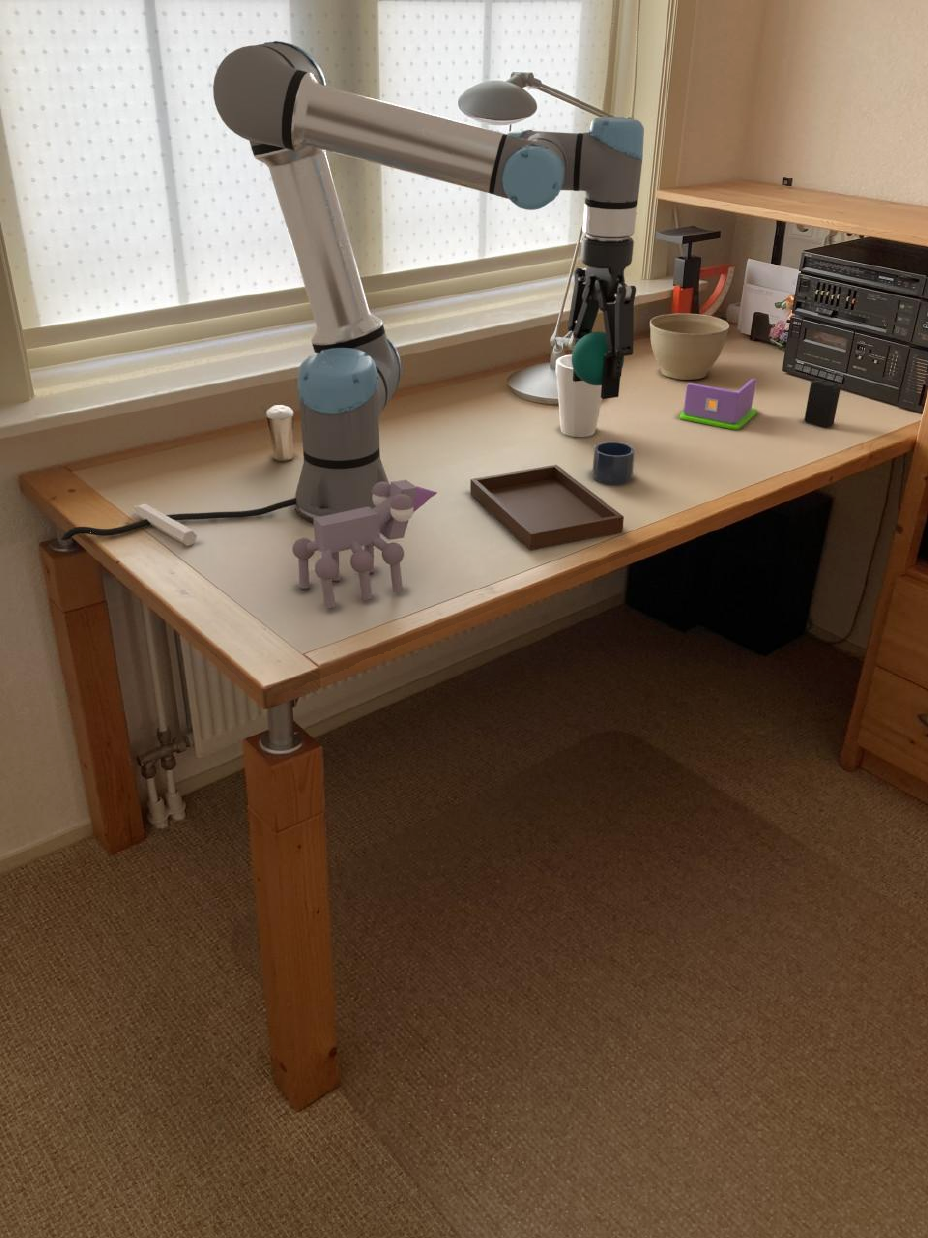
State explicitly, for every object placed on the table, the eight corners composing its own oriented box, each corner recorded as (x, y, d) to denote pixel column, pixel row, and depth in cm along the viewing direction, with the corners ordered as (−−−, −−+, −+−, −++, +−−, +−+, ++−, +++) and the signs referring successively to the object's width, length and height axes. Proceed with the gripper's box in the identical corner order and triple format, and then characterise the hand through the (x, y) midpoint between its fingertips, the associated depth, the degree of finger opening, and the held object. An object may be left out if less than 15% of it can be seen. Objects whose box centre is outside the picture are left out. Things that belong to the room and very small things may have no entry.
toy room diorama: (738, 430, 196) (743, 395, 193) (677, 418, 202) (681, 383, 198) (758, 412, 205) (764, 377, 202) (699, 400, 211) (704, 366, 207)
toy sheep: (421, 551, 154) (420, 464, 147) (457, 583, 146) (457, 491, 139) (291, 582, 145) (284, 491, 138) (321, 618, 137) (314, 522, 130)
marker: (135, 515, 165) (193, 547, 155) (123, 512, 163) (181, 544, 154) (140, 499, 165) (198, 530, 155) (129, 496, 163) (187, 527, 153)
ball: (586, 394, 160) (590, 342, 156) (560, 378, 166) (564, 328, 162) (631, 388, 163) (636, 336, 159) (604, 373, 169) (609, 323, 165)
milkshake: (262, 456, 184) (256, 400, 179) (291, 450, 186) (287, 395, 181) (270, 465, 181) (265, 408, 176) (300, 459, 183) (296, 404, 178)
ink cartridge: (833, 425, 199) (841, 384, 195) (827, 428, 198) (835, 387, 194) (810, 418, 202) (817, 378, 198) (803, 421, 201) (811, 380, 197)
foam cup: (603, 423, 199) (608, 354, 193) (604, 441, 191) (609, 370, 185) (552, 421, 200) (556, 353, 194) (551, 438, 192) (555, 368, 186)
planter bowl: (725, 366, 230) (732, 316, 224) (717, 389, 216) (724, 336, 211) (651, 359, 234) (656, 309, 228) (639, 381, 221) (644, 329, 215)
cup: (605, 487, 174) (607, 458, 171) (585, 472, 179) (587, 444, 176) (639, 481, 176) (642, 452, 174) (619, 466, 181) (621, 439, 179)
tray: (529, 550, 154) (530, 534, 153) (470, 493, 171) (470, 478, 170) (622, 532, 160) (624, 516, 158) (555, 479, 177) (556, 464, 175)
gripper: (670, 248, 147) (652, 406, 158) (594, 220, 163) (582, 366, 174) (624, 252, 144) (609, 413, 156) (551, 223, 160) (542, 371, 172)
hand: (595, 388), depth 165 cm, fingers closed on ball, 8 cm apart
